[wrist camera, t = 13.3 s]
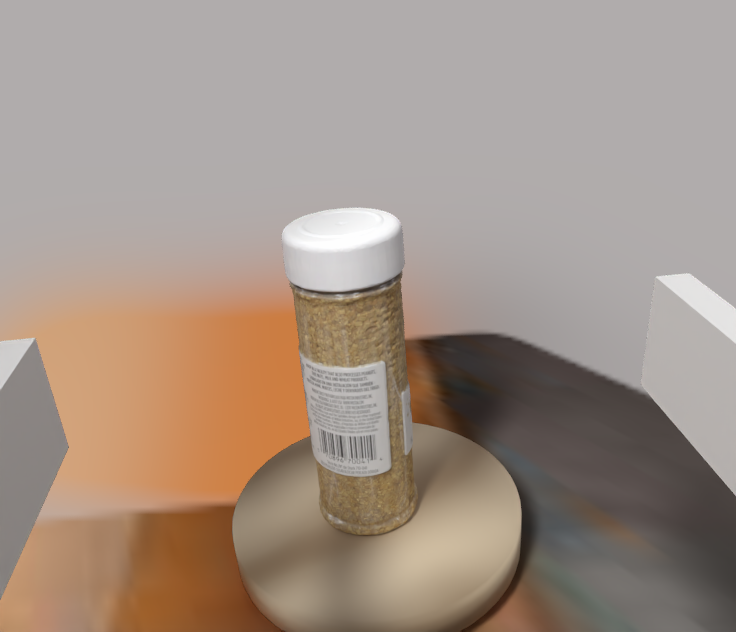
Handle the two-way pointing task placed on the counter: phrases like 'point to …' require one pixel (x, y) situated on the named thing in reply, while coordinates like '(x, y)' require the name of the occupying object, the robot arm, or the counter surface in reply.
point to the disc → (381, 544)
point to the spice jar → (354, 364)
